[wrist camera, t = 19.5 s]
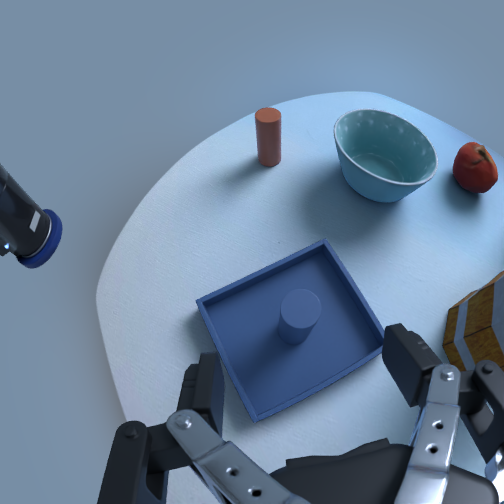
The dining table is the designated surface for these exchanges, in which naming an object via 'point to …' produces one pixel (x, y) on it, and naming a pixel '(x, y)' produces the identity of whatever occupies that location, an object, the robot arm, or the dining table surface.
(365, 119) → the bowl
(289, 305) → the blue peg
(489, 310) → the wooden banded barrel
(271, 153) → the terracotta peg
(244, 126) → the dining table surface
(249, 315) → the blue tray
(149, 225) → the dining table surface
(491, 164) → the red round fruit
